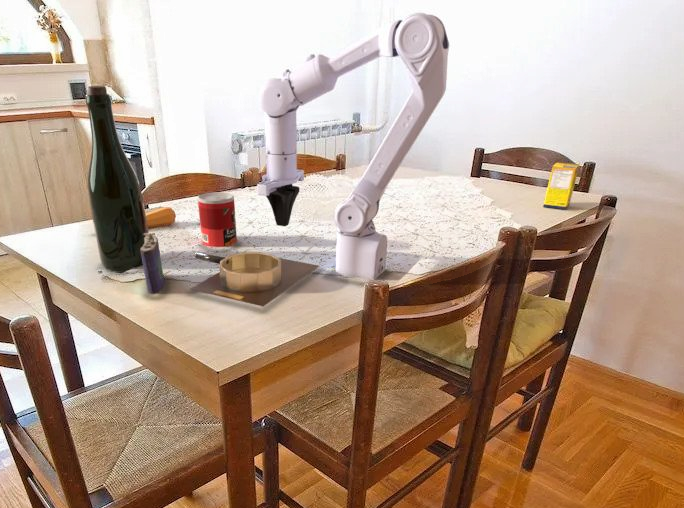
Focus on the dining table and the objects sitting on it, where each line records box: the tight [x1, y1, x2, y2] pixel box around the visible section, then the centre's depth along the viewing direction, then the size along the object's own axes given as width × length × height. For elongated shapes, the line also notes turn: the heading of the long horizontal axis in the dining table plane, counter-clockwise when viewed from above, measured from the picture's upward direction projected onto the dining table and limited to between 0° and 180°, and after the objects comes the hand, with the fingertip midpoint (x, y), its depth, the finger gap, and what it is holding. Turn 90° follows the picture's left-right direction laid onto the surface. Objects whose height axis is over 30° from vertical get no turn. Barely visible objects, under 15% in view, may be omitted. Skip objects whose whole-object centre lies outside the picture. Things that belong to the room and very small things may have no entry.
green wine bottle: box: [85, 85, 150, 273], centre depth 102 cm, size 10×10×33 cm
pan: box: [194, 251, 281, 292], centre depth 101 cm, size 19×11×4 cm, turn 61°
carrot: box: [145, 206, 177, 229], centre depth 131 cm, size 20×4×4 cm, turn 119°
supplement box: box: [543, 162, 580, 211], centre depth 144 cm, size 6×6×11 cm
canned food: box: [197, 191, 238, 248], centre depth 118 cm, size 8×8×11 cm
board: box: [189, 257, 320, 307], centre depth 102 cm, size 16×22×1 cm
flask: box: [140, 232, 165, 299], centre depth 97 cm, size 9×3×11 cm, turn 8°
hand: (282, 224), depth 106 cm, fingers closed
